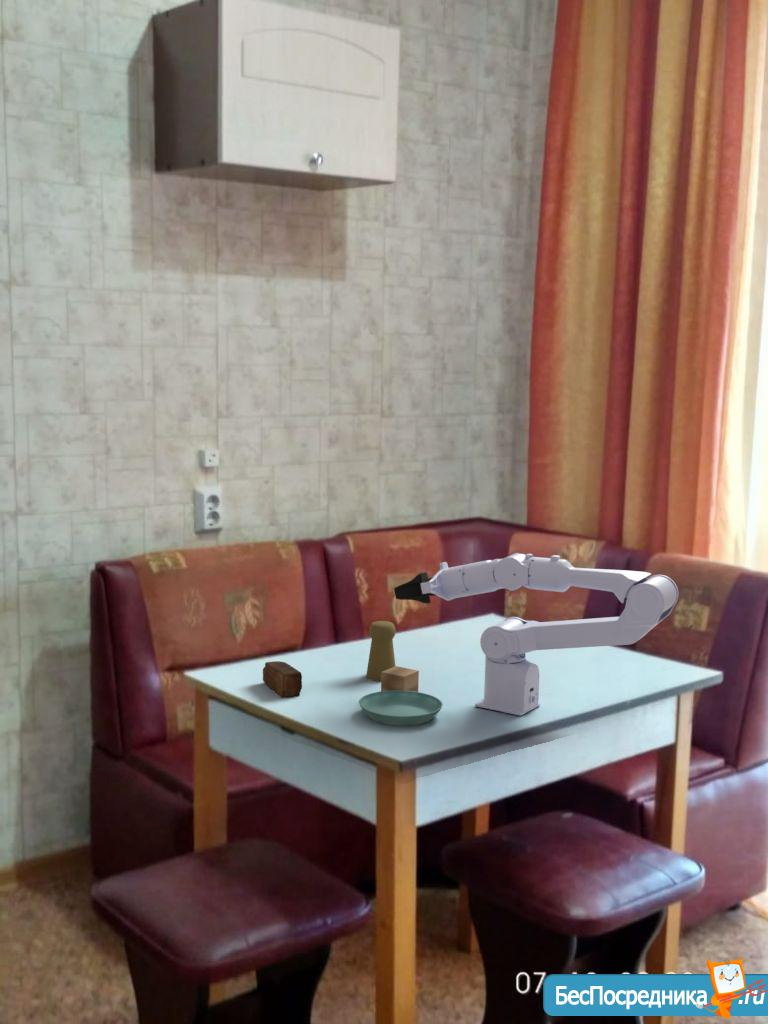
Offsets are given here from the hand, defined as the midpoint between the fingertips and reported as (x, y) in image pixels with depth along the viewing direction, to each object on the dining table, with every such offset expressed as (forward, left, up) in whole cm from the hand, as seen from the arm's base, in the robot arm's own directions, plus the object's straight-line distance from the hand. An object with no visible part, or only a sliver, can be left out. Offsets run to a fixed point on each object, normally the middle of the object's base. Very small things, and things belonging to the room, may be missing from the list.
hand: (405, 591), depth 222 cm
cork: (+7, -4, -19) cm, 21 cm away
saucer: (-9, +14, -19) cm, 25 cm away
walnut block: (-3, +5, -19) cm, 20 cm away
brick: (+18, +15, -19) cm, 30 cm away
